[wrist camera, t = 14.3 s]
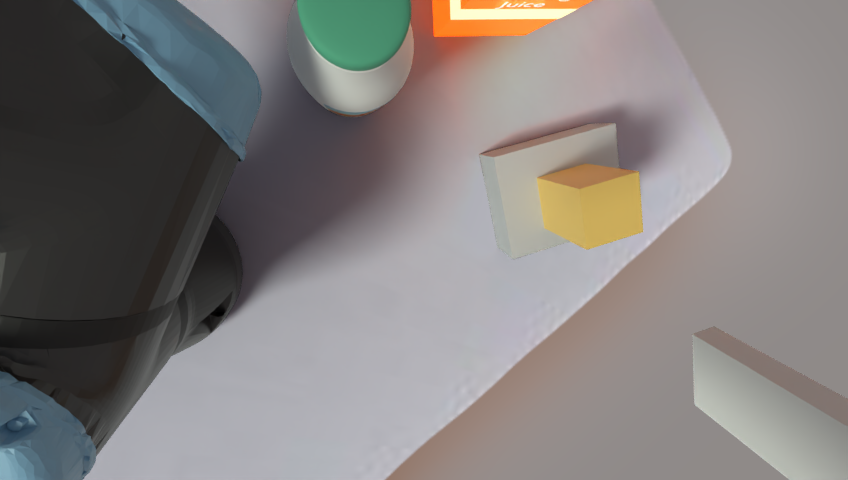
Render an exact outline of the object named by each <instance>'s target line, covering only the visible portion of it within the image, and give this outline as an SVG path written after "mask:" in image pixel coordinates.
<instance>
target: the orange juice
mask: <svg viewBox="0 0 848 480" xmlns="http://www.w3.org/2000/svg"><path fill="white" fill-rule="evenodd" d="M432 1H433V27H434V37H443V36H507V35H527V34H529V33H531V32H532V31H534V30H536V29H538V28H540V27H542V26H544V25H546V24H548V23H550V22H552V21H554V20H556V19H559V18H561V17H563V16H565V15H567V14H569V13H571V12H573V11H575V10H577V8H579V7H581V6H583V5H585V4H587V3H589V2H591V1H593V0H432Z"/></svg>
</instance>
